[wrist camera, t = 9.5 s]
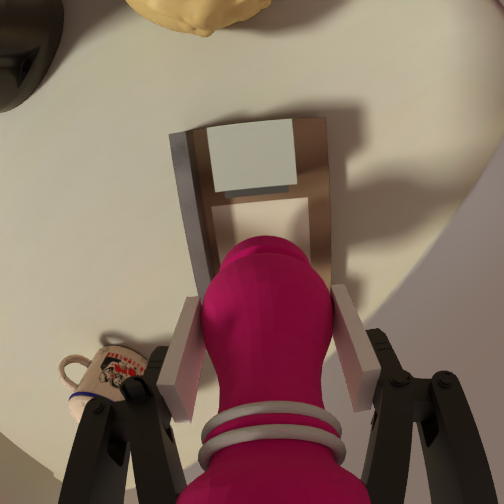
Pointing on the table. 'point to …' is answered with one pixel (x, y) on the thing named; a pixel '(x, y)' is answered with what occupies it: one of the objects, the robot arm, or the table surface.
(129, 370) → the teacup with lid
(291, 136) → the block
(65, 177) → the table surface
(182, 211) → the steel rail bar
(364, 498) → the pepper mill
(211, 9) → the sculpture
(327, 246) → the wooden frame tray
